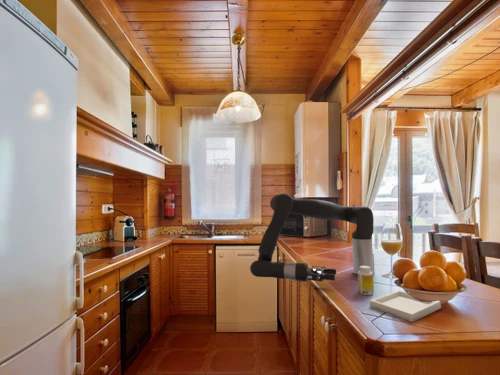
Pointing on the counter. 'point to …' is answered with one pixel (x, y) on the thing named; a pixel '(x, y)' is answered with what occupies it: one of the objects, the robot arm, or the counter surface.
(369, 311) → the counter surface
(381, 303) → the tray
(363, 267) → the supplement bottle
